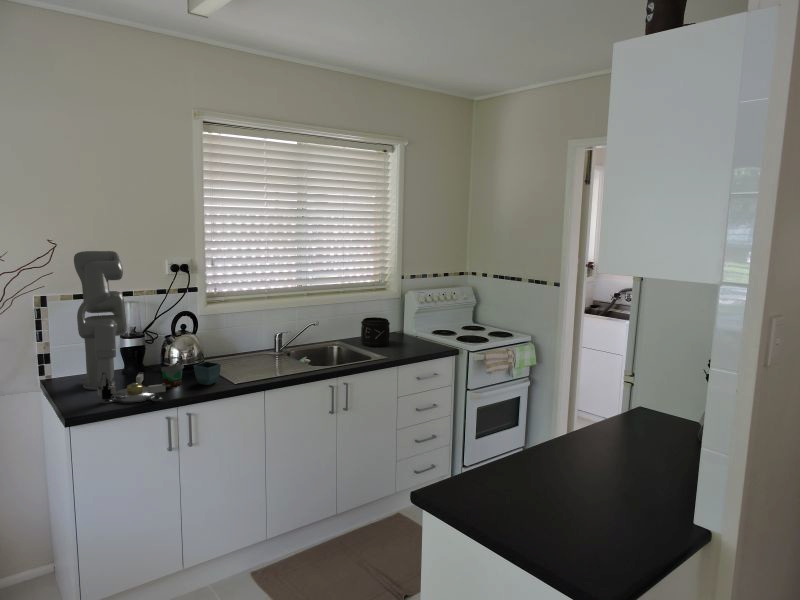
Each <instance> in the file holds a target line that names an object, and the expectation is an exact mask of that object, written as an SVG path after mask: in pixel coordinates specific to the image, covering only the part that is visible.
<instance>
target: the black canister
mask: <svg viewBox="0 0 800 600" xmlns="http://www.w3.org/2000/svg"><path fill="white" fill-rule="evenodd" d="M360 323H361V329H360V337H361V338H360V342H361V344H362V345H363V346H364V347H366V348H367V347H368V348H384V347H387V346H389V343H390V331H391V330H390V324H391V322H390V321H389V319H387V318H385V317H378V316H377V317H374V316H373V317H365V318H363V319H362V321H361V322H360Z"/></svg>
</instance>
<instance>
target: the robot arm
mask: <svg viewBox="0 0 800 600" xmlns="http://www.w3.org/2000/svg"><path fill="white" fill-rule="evenodd" d="M73 266H74V269H75V272H76V274H77V276H78V278H79V280H80V282H81V288H82V289H81V290H82V299H83V300H82V301H83V302H81V304H80V306H79V307H78V309H77V313H76V322H77V331H78V335H79V337H81V339H83V340H84V349H85V350H84V351H85V366H86V367H85V370H86V371H85V372H86V374H83V375H82V376H81V377H80V380H81V381H84V383H83V385H82V388H83V389H85V390H91V391H95V390H96V391H97V388H98V387H102V395H101V398H102V399H101V400H103V399H111V398H112V396H114V394H111V389H110V386H114V385H115V386H116V381H115V380H114V379H113V378H114V375H115V361H114V360H115V359H114V358H116V357H117V349H116V348H117V347H116V345H117V344H116V343H117V342H116V337H118V336H119V337H120V336H124V335H125V334H126V332H127V329H128V324H127V315H126V314H127V313H126V305H125V300H124V296H123V294H122V292H120V291H118V290H110V287H109V286H110V285H109V281H120V280H121V279H122V278H123V275H124V269H123V264H122V262H121V259H120V256H119V253H117V252H116V251H113V250H85V251H78V252H77V253H75V254H74V255H73ZM86 312H87V313H89V314H101V315H92V316H91V315H90V316H87V317H85V316H86V315H85V314H86ZM103 313H106V314H103ZM107 313H112V314H107ZM102 314H103V315H102Z"/></svg>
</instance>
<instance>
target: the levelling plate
mask: <svg viewBox="0 0 800 600" xmlns="http://www.w3.org/2000/svg"><path fill="white" fill-rule="evenodd" d="M146 400H148V401H151V400H152V401H155V402H154V403H159V402H158V401H160V402H162V400H163V401H164V397H163V396H161V395H159V398H155V393H150V394H149V393H148V386H145V385H143V383H142V384H138V383H136V382H132V383H130V384H128V385H127V386H126V388H124V389H120V390H116V393H114V394H113V397H111V399H109V400H105V399H101V400H100V404H102V405H110V404H113V403H119V402H120V404H135V403H134V402H140V403H144V402H143V401H145V402H147V401H146ZM152 401H151V402H152Z"/></svg>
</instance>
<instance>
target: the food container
mask: <svg viewBox="0 0 800 600" xmlns="http://www.w3.org/2000/svg"><path fill="white" fill-rule="evenodd" d="M184 368H185V366H184V363H183V361H181V360H176V362H174V363H171V364H169V365H167V366H161V375H162V383H165V385H166V389H173V388H172V387H175V388H178V387H177V386H179V387H180V385H181V386H182V384H183V383H182V381H183V379H182V378H183V369H184Z"/></svg>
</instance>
